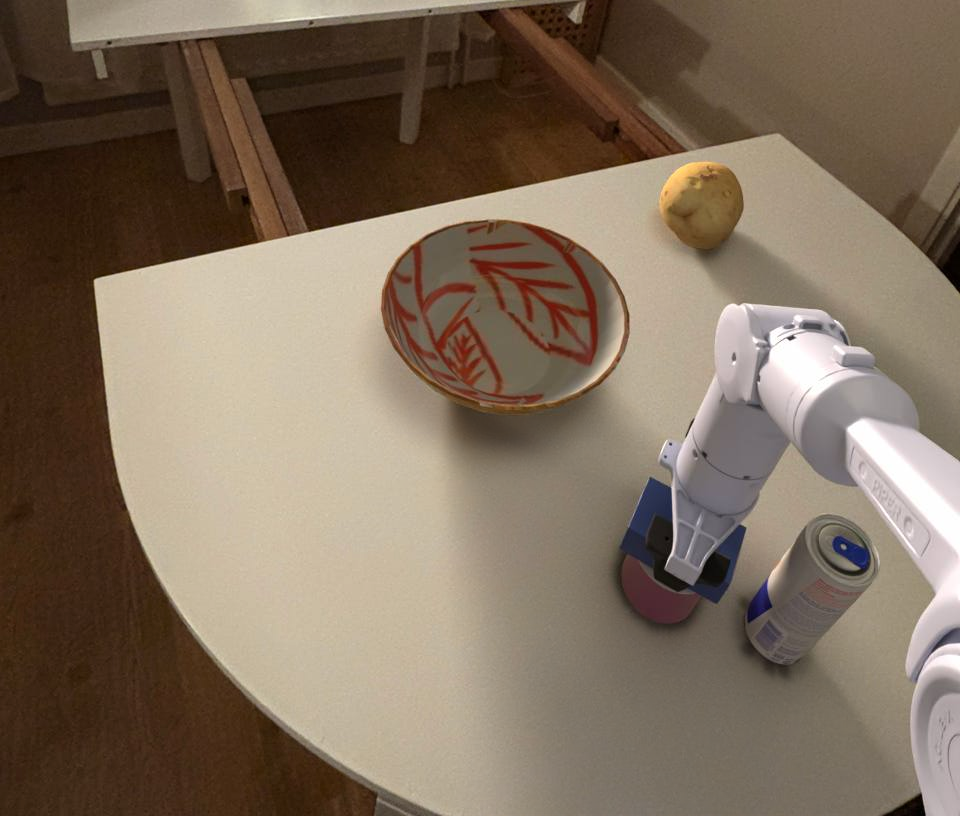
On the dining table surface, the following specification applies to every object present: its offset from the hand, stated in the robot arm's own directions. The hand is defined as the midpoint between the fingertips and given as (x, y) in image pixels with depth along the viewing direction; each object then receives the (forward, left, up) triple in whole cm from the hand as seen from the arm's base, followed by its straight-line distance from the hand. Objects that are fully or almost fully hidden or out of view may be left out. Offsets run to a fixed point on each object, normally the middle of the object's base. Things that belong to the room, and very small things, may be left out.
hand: (682, 537), depth 60 cm
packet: (0, 0, -2) cm, 2 cm away
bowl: (+26, +6, -8) cm, 28 cm away
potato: (+40, -25, -8) cm, 48 cm away
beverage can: (-6, -8, -8) cm, 13 cm away
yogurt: (0, 0, -8) cm, 8 cm away
